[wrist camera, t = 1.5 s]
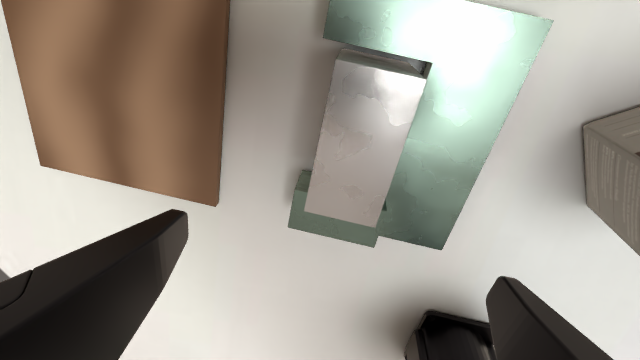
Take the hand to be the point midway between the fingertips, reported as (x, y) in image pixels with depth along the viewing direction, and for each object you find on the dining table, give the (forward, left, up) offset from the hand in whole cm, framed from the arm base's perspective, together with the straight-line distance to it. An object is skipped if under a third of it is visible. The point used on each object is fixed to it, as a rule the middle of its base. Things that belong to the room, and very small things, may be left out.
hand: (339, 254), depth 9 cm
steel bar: (0, 0, -13) cm, 13 cm away
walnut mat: (+16, 0, -13) cm, 20 cm away
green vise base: (-3, -2, -13) cm, 14 cm away
